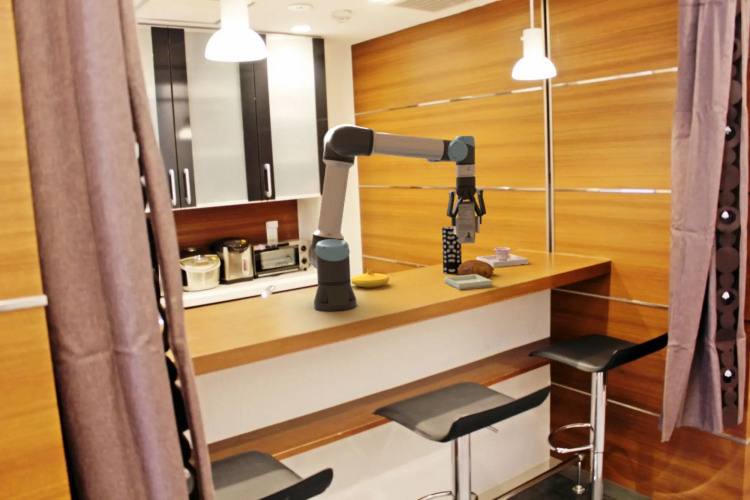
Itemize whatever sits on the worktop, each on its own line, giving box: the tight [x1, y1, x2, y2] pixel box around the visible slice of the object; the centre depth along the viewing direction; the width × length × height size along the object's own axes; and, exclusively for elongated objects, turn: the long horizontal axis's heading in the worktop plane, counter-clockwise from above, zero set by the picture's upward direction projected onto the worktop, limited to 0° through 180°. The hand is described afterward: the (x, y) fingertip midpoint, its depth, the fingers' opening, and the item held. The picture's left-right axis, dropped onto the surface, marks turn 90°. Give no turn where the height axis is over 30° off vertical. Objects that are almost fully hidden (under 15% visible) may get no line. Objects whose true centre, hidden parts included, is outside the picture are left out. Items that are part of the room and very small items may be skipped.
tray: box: [444, 274, 493, 291], centre depth 248 cm, size 14×15×2 cm
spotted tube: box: [441, 226, 463, 275], centre depth 274 cm, size 8×8×20 cm
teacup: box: [490, 246, 515, 262], centre depth 294 cm, size 12×12×6 cm
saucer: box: [475, 253, 530, 268], centre depth 294 cm, size 18×18×2 cm
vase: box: [350, 268, 390, 288], centre depth 254 cm, size 16×16×7 cm
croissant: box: [458, 259, 495, 278], centre depth 266 cm, size 14×16×8 cm
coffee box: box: [457, 200, 476, 245], centre depth 245 cm, size 9×6×16 cm
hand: (466, 233), depth 245 cm, fingers closed on coffee box, 9 cm apart
